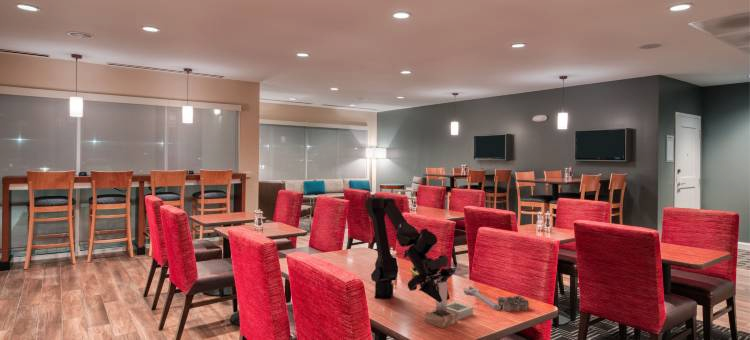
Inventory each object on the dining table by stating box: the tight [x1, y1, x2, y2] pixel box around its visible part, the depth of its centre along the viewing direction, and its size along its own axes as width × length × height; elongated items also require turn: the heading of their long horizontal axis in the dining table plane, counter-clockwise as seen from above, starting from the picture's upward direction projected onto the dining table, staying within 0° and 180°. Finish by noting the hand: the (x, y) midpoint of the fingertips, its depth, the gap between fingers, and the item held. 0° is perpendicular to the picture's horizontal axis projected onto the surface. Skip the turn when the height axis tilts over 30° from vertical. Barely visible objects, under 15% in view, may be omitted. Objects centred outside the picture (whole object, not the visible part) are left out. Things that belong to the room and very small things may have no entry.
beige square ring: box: [424, 308, 458, 329], centre depth 153 cm, size 8×7×3 cm
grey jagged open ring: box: [496, 294, 531, 312], centre depth 169 cm, size 11×8×4 cm
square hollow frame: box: [447, 301, 474, 321], centre depth 161 cm, size 8×8×2 cm
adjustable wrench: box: [463, 286, 502, 311], centre depth 177 cm, size 25×6×2 cm, turn 10°
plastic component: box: [409, 265, 441, 278], centre depth 206 cm, size 20×7×10 cm
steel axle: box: [435, 280, 449, 317], centre depth 152 cm, size 4×4×12 cm
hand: (444, 300), depth 151 cm, fingers closed on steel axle, 4 cm apart
